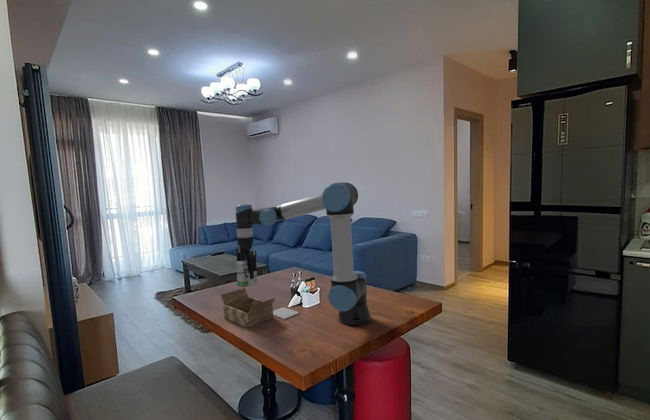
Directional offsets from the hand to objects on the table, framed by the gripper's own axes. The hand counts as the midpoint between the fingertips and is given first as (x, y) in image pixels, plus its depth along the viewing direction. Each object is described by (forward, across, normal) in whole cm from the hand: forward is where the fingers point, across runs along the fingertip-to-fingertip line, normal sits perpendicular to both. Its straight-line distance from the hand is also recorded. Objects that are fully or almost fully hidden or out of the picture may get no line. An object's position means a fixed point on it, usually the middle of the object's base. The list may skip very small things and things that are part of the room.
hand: (247, 284), depth 165 cm
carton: (+17, 0, 0) cm, 17 cm away
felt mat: (+17, -10, -14) cm, 24 cm away
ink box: (+1, 0, 0) cm, 1 cm away
